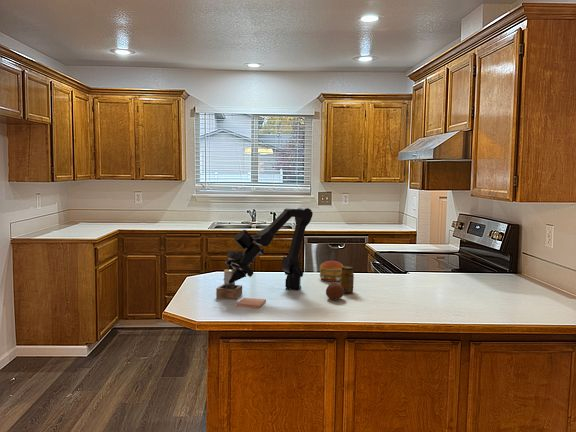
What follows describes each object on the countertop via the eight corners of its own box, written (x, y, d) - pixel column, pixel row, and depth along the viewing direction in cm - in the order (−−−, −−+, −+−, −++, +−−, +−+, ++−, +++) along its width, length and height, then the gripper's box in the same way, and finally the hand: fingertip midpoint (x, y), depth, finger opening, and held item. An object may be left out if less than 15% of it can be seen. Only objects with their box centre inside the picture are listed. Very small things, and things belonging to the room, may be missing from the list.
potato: (340, 295, 241) (341, 279, 240) (347, 301, 231) (347, 285, 230) (322, 296, 240) (323, 280, 239) (328, 302, 229) (329, 285, 228)
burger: (314, 278, 278) (315, 259, 277) (337, 276, 283) (337, 258, 282) (326, 283, 266) (326, 263, 265) (349, 281, 271) (350, 262, 270)
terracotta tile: (265, 302, 228) (265, 299, 228) (259, 308, 218) (259, 305, 218) (243, 300, 230) (243, 297, 230) (236, 306, 220) (236, 303, 220)
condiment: (350, 290, 252) (350, 265, 251) (358, 294, 244) (359, 269, 243) (336, 291, 250) (336, 266, 248) (344, 295, 242) (344, 269, 241)
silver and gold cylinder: (236, 289, 237) (236, 269, 236) (232, 291, 233) (232, 271, 232) (226, 288, 238) (226, 268, 238) (222, 291, 234) (222, 271, 233)
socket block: (242, 295, 239) (242, 285, 239) (235, 299, 230) (235, 289, 230) (223, 293, 241) (223, 283, 241) (216, 298, 232) (216, 288, 232)
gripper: (228, 240, 243) (206, 266, 239) (247, 246, 228) (223, 274, 223) (243, 256, 248) (222, 281, 244) (263, 263, 233) (240, 290, 228)
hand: (226, 281), depth 234 cm, fingers closed on silver and gold cylinder, 5 cm apart
